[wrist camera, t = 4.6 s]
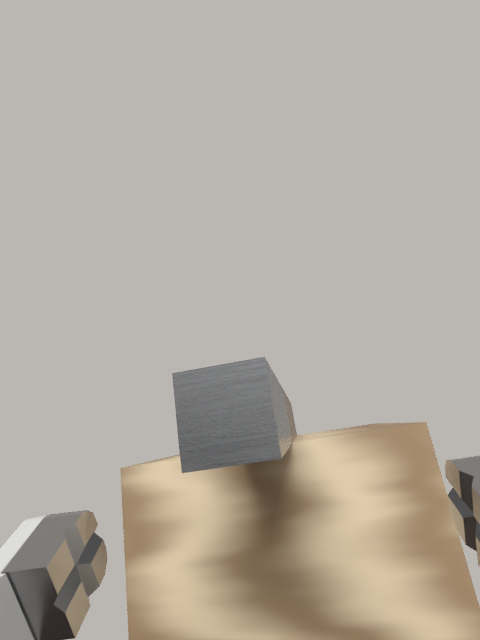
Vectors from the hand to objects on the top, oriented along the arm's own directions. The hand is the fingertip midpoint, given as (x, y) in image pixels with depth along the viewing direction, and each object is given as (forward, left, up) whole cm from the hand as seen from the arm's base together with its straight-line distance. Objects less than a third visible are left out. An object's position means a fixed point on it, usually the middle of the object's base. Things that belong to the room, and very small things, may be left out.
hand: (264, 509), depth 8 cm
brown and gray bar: (-1, +10, +1) cm, 10 cm away
